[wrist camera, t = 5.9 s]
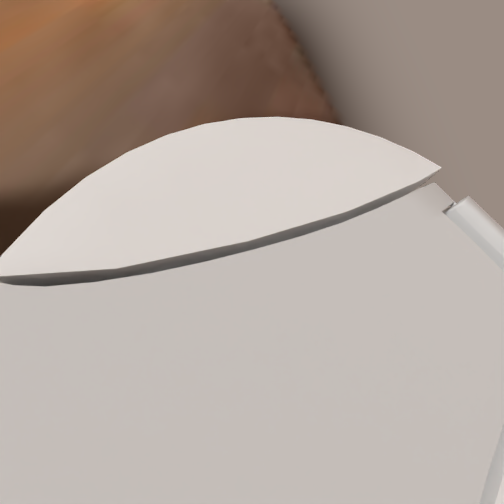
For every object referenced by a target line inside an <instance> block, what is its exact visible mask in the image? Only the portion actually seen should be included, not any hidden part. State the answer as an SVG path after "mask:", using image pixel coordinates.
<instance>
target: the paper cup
mask: <svg viewBox="0 0 504 504" xmlns="http://www.w3.org/2000/svg"><path fill="white" fill-rule="evenodd" d="M441 168H442V167H440V166H438V165H437V164H435V163H433V162H432V161H430V160H428V159H426V158H424V157H423V156H421V155H419V154H417V153H416V152H414V151H411V150H409V149H406V148H405V147H402V146H400V145H398V144H395V143H393V142H391V141H388V140H386V139H384V138H382V137H379V136H376V135H372V134H369V133H366V132H363V131H360V130H357V129H354V128H350V127H347V126H342V125H337V124H332V123H327V122H322V121H317V120H311V119H299V118H286V117H259V118H239V119H233V120H227V121H221V122H214V123H208V124H203V125H199V126H196V127H193V128H189V129H186V130H183V131H179V132H176V133H172V134H169V135H166V136H163V137H161V138H159V139H156V140H154V141H152V142H150V143H147V144H145V145H143V146H141V147H138V148H136V149H134V150H132V151H129V152H127V153H125V154H123V155H122V156H120V157H118V158H117V159H115V160H114V161H112V162H110V163H109V164H107V165H105V166H104V167H102V168H100V169H99V170H97V171H95V172H94V173H92V174H90V175H89V176H87V177H85V178H84V179H83V180H82V181H80V182H79V183H78V184H77V185H75V186H74V187H73V188H72V189H70V190H69V191H68V192H67V193H65V194H64V195H63V196H62V197H61V198H59V199H58V200H57V201H56V202H54V203H53V204H52V205H51V206H49V207H48V208H47V209H46V210H44V211H43V212H42V213H41V214H40V216H39V217H38V218H37V219H36V220H35V221H34V222H33V223H32V224H31V225H30V226H29V227H28V228H27V229H26V230H25V231H24V232H23V233H22V234H21V235H20V236H19V237H18V238H17V239H16V241H15V242H14V243H13V244H12V245H11V246H10V247H9V248H8V249H7V250H6V251H5V252H4V253H3V254H2V256H1V257H0V504H504V229H503V228H502V227H501V226H500V225H499V224H498V223H497V222H496V221H495V220H494V219H493V218H492V217H491V216H490V215H489V214H488V213H487V212H486V211H485V210H483V209H482V208H481V207H480V206H479V205H478V204H477V203H476V202H475V201H474V200H473V199H472V198H471V197H470V196H467V197H465V198H464V199H462V200H461V201H459V202H458V203H456V202H455V201H454V200H453V199H452V198H451V197H450V196H448V194H447V193H446V192H445V191H443V190H442V189H441V188H440V187H439V186H438V185H437V184H436V183H435V182H433V183H431V184H428V185H426V186H424V187H422V188H420V186H421V185H422V184H423V183H425V182H426V181H427V180H428V179H430V178H431V177H432V176H433V175H434V174H436V173H437V172H438V171H439V169H441ZM449 205H450V206H451V207H450V208H448V206H449Z"/></svg>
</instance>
